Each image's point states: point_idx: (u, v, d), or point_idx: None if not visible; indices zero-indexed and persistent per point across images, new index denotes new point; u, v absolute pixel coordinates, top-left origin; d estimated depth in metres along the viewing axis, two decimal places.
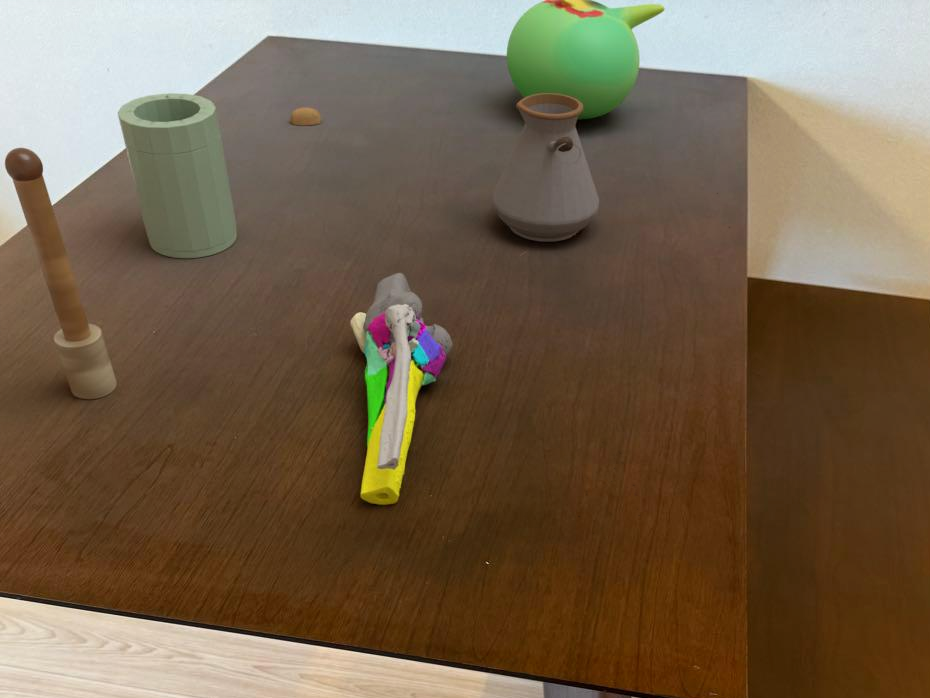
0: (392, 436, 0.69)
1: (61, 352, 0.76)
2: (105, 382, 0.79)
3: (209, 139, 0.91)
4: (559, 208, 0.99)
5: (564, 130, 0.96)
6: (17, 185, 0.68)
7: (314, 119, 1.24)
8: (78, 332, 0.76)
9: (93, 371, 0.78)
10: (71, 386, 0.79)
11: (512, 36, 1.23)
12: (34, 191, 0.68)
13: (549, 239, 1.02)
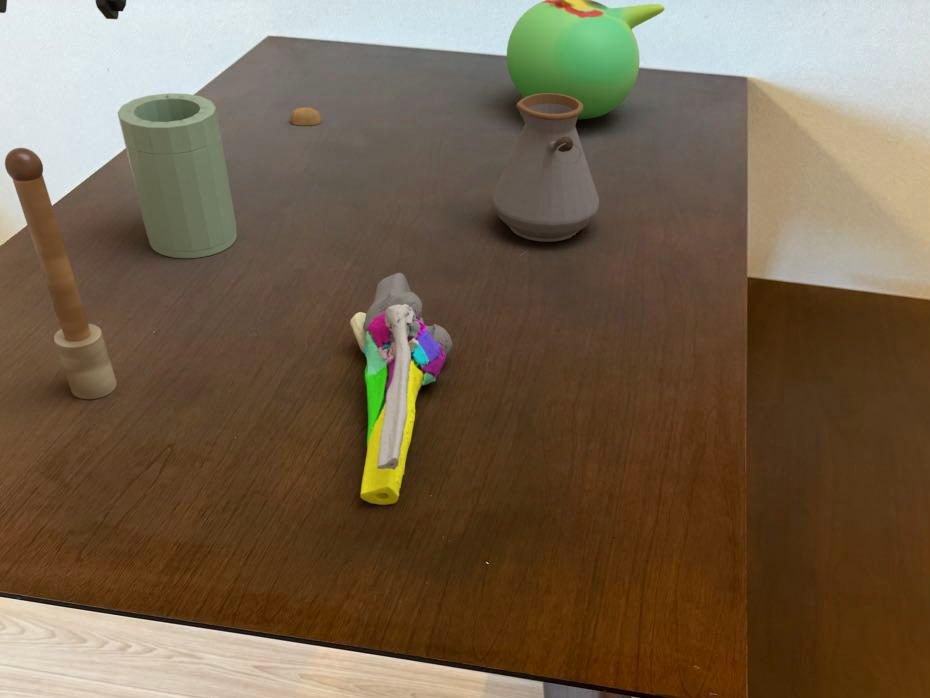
0: (392, 436, 0.69)
1: (61, 352, 0.76)
2: (105, 382, 0.79)
3: (209, 139, 0.91)
4: (559, 208, 0.99)
5: (564, 130, 0.96)
6: (17, 185, 0.68)
7: (314, 119, 1.24)
8: (78, 332, 0.76)
9: (93, 371, 0.78)
10: (71, 386, 0.79)
11: (512, 36, 1.23)
12: (34, 191, 0.68)
13: (549, 239, 1.02)
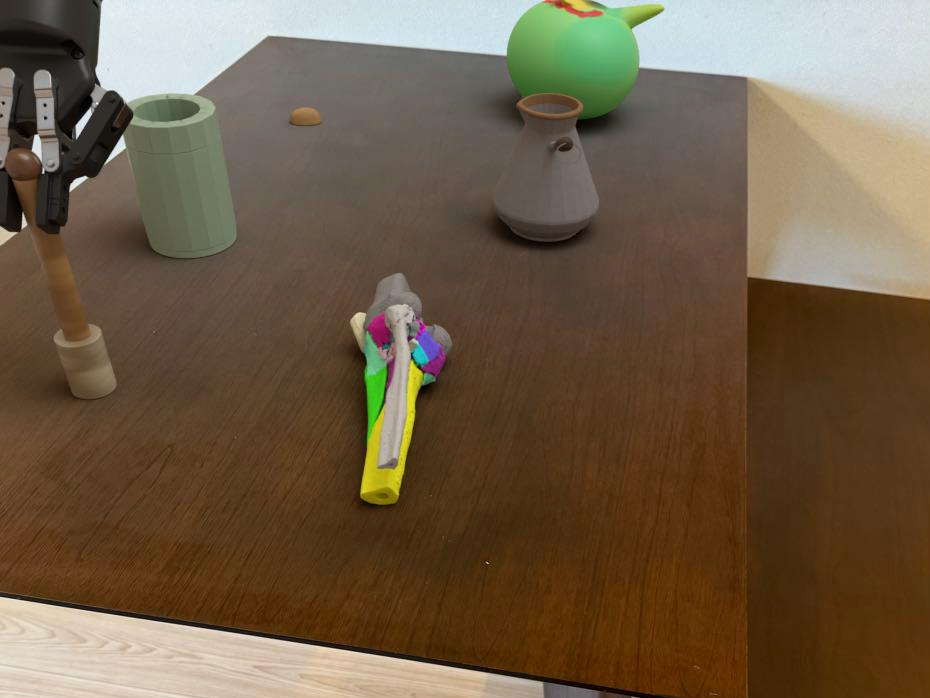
0: (392, 436, 0.69)
1: (61, 352, 0.76)
2: (105, 382, 0.79)
3: (209, 139, 0.91)
4: (559, 208, 0.99)
5: (564, 130, 0.96)
6: (17, 185, 0.68)
7: (314, 119, 1.24)
8: (78, 332, 0.76)
9: (93, 371, 0.78)
10: (71, 386, 0.79)
11: (512, 36, 1.23)
12: (34, 191, 0.68)
13: (549, 239, 1.02)
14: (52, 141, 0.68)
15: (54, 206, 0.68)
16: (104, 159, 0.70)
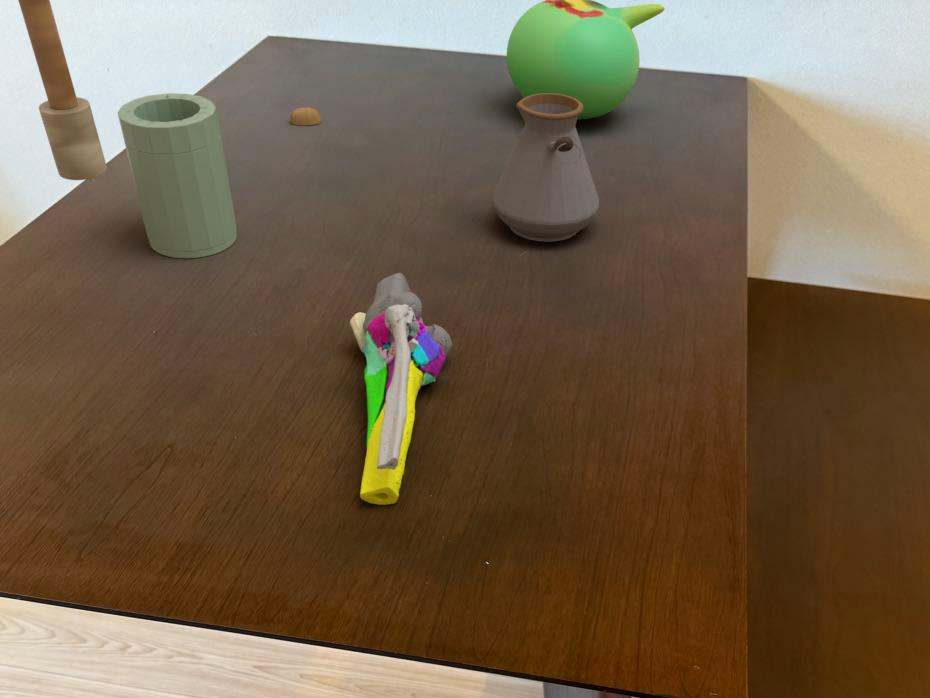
0: (392, 436, 0.69)
1: (46, 122, 0.72)
2: (94, 161, 0.74)
3: (209, 139, 0.91)
4: (559, 208, 0.99)
5: (564, 130, 0.96)
6: None
7: (314, 119, 1.24)
8: (64, 99, 0.71)
9: (81, 145, 0.73)
10: (58, 165, 0.74)
11: (512, 36, 1.23)
12: None
13: (549, 239, 1.02)
14: None
15: None
16: None
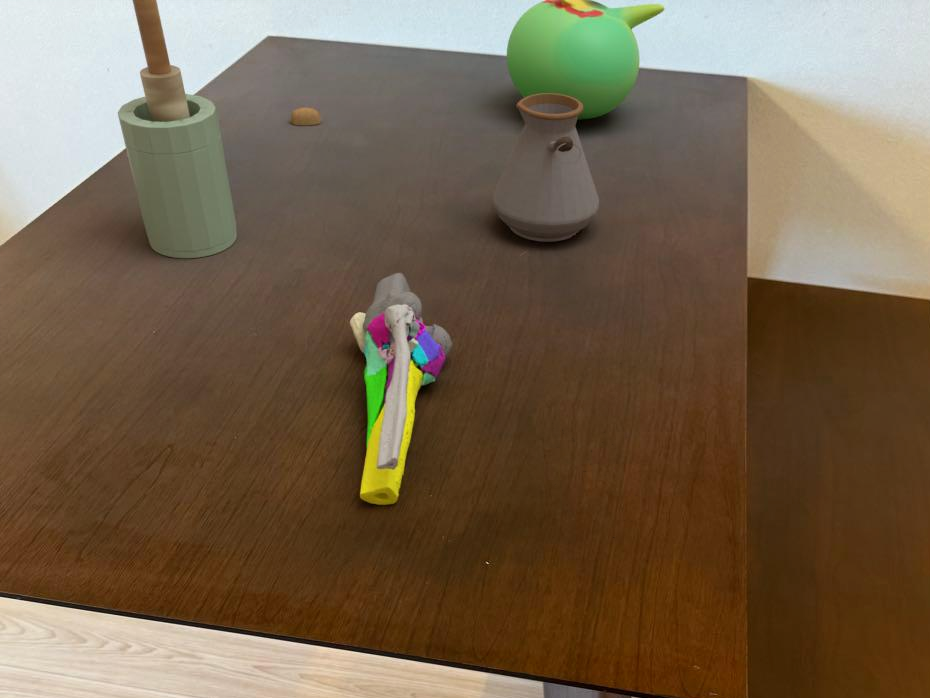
0: (391, 436, 0.69)
1: (146, 84, 0.88)
2: (183, 117, 0.91)
3: (209, 139, 0.91)
4: (559, 208, 0.99)
5: (564, 130, 0.96)
6: None
7: (314, 119, 1.24)
8: (161, 65, 0.88)
9: (173, 104, 0.89)
10: (153, 121, 0.91)
11: (512, 36, 1.23)
12: None
13: (549, 239, 1.02)
14: None
15: None
16: None
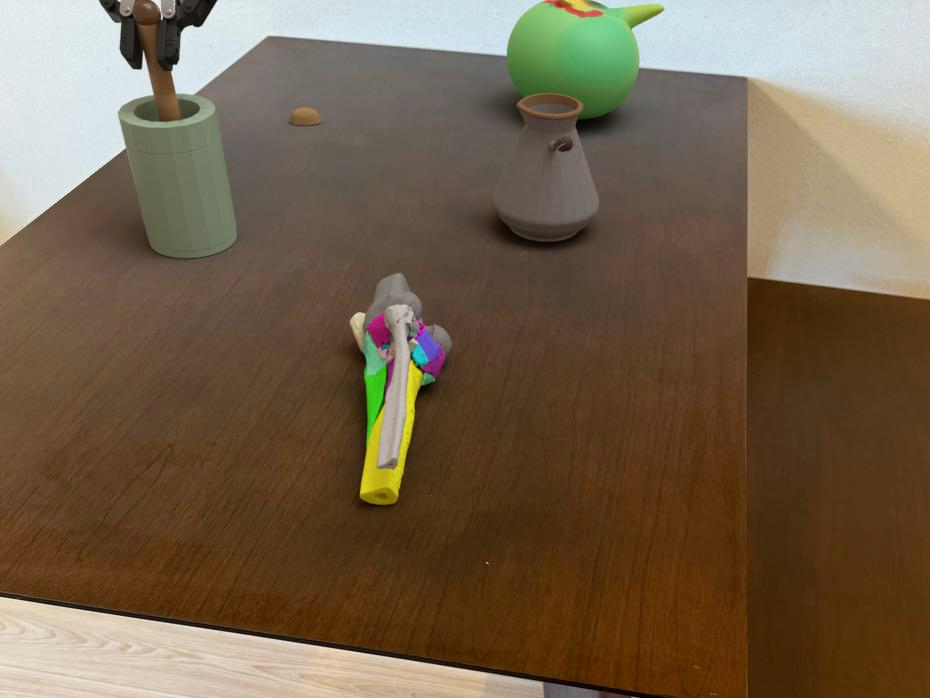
0: (391, 436, 0.69)
1: None
2: None
3: (209, 139, 0.91)
4: (559, 208, 0.99)
5: (564, 130, 0.96)
6: (141, 29, 0.86)
7: (314, 119, 1.24)
8: None
9: None
10: None
11: (512, 36, 1.23)
12: (154, 34, 0.86)
13: (549, 239, 1.02)
14: None
15: (170, 46, 0.86)
16: (208, 12, 0.88)
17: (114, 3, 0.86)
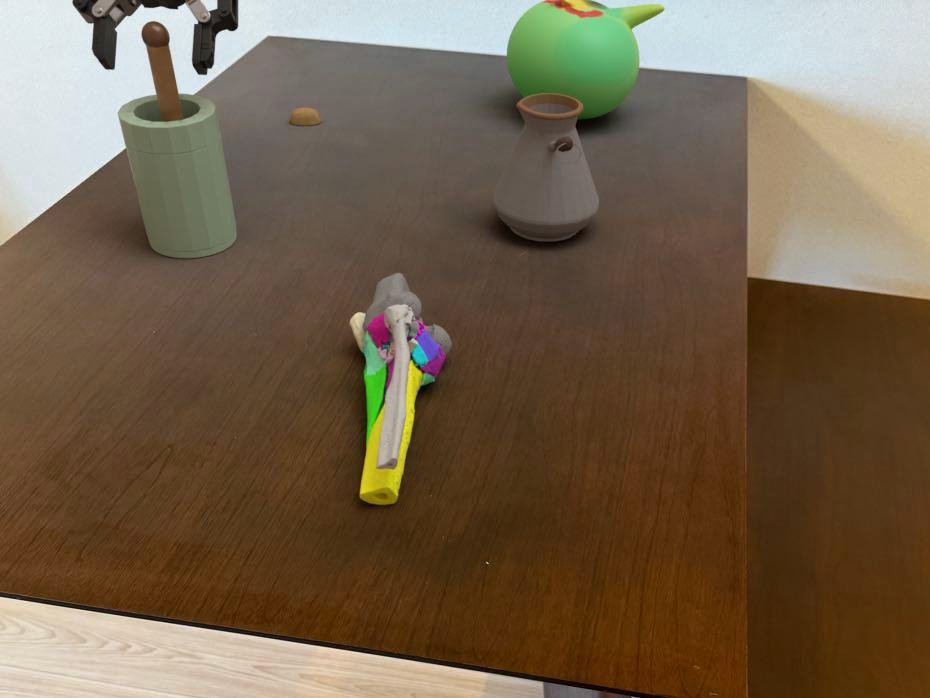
0: (391, 436, 0.69)
1: None
2: None
3: (209, 139, 0.91)
4: (559, 208, 0.99)
5: (564, 130, 0.96)
6: (150, 51, 0.87)
7: (314, 119, 1.24)
8: None
9: None
10: None
11: (512, 36, 1.23)
12: (163, 56, 0.87)
13: (549, 239, 1.02)
14: (195, 0, 0.86)
15: (205, 50, 0.87)
16: (237, 11, 0.89)
17: (86, 4, 0.87)
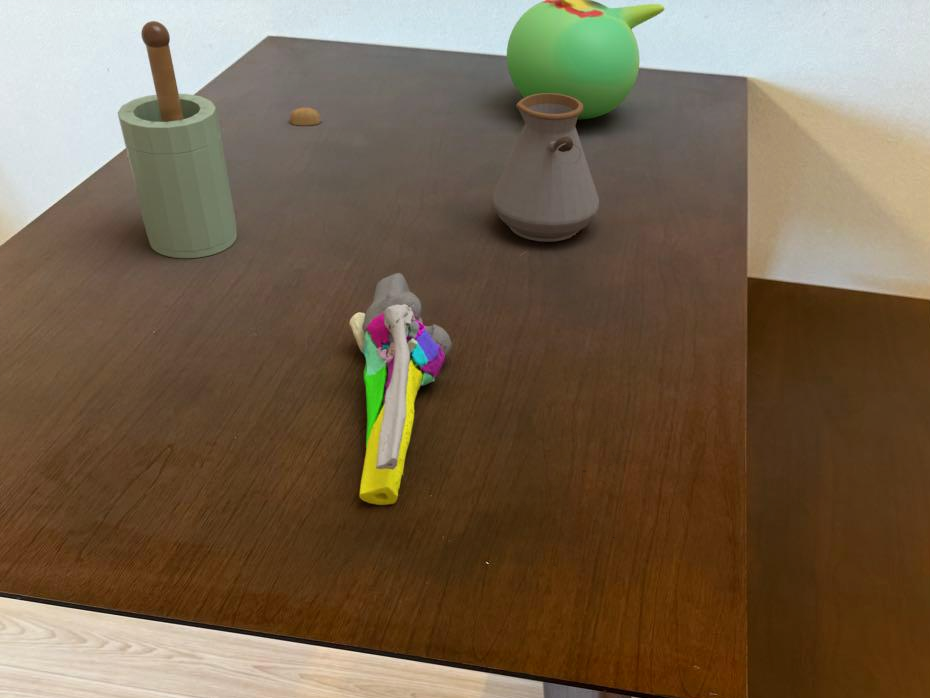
0: (391, 436, 0.69)
1: None
2: None
3: (209, 139, 0.91)
4: (559, 208, 0.99)
5: (564, 130, 0.96)
6: (150, 51, 0.87)
7: (314, 119, 1.24)
8: None
9: None
10: None
11: (512, 36, 1.23)
12: (163, 56, 0.87)
13: (549, 239, 1.02)
14: None
15: None
16: None
17: None
